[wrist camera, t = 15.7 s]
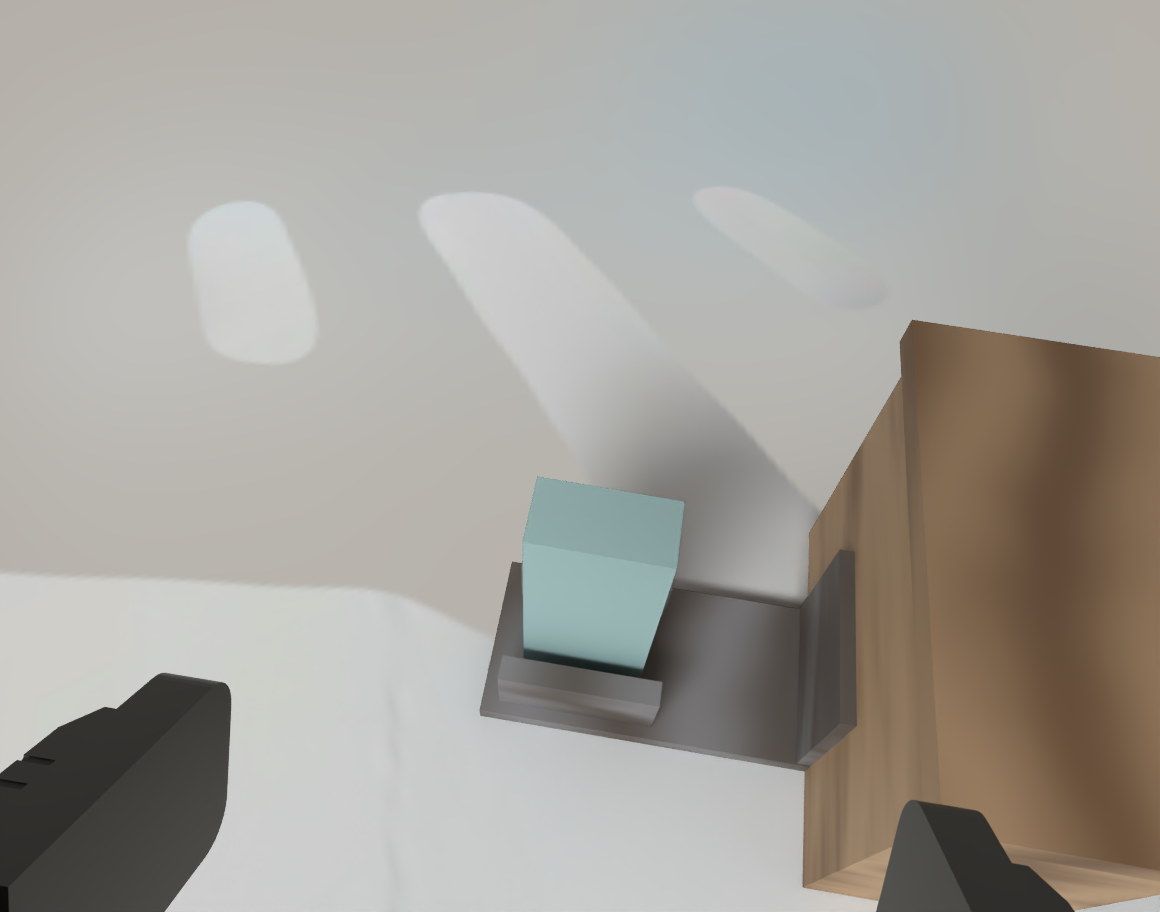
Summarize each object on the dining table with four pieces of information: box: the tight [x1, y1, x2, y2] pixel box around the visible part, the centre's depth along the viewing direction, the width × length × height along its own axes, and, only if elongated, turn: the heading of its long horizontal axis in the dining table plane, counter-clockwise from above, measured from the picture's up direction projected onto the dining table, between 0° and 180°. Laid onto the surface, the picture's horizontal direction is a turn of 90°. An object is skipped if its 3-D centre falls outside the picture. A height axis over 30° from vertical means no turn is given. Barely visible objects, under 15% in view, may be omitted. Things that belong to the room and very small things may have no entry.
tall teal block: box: [522, 477, 685, 678], centre depth 34 cm, size 5×3×12 cm
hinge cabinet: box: [480, 320, 1160, 910], centre depth 33 cm, size 22×17×15 cm
